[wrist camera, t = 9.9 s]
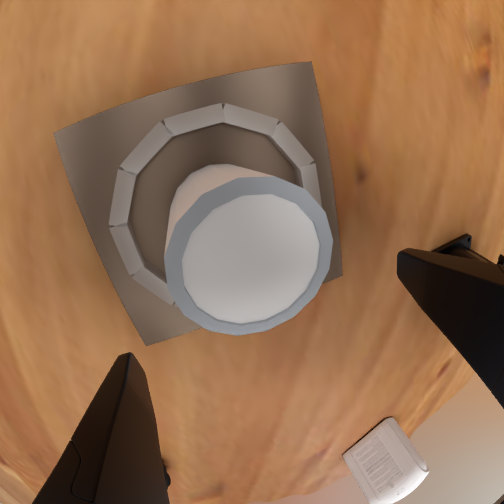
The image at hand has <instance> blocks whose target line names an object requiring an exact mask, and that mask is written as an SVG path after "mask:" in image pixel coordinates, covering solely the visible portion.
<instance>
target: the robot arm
mask: <svg viewBox="0 0 504 504" xmlns="http://www.w3.org/2000/svg"><path fill="white" fill-rule="evenodd" d="M471 239H472V237H471V235H469V234H466V235H464V236H462V237H460V238H458V239H456V240H454V241H452V242H451V243H449V244H447V245H445V246H443V247H441V248H439V249H437V250H435V251H433V252H429V251H424V250H418V249H412V248H406V249H404V250H402V251H400V252H399V253H398V255H397V275H398V278H399V279H400V281H401V282H402V283H403V285H404V286H405V287H406V289H407V290H408V291H409V293H410V294H411V295H412V297H413V298H414V299H415V301H416V302H417V303H418V305H419V306H420V307H421V309H422V310H423V311H424V312H425V313H426V315H427V316H428V317H429V318H430V319H431V320H432V321H433V322H434V323H435V325H436V326H437V327H438V328H439V329H440V330H441V331H442V333H443V334H444V335H445V336H446V337H447V338H448V340H449V341H450V342H451V343H452V344H453V345H454V347H455V348H456V349H457V350H458V351H459V352H460V354H461V355H462V356H463V357H464V358H465V360H466V361H467V362H468V363H469V365H470V366H471V367H472V368H473V370H474V371H475V372H476V373H477V374H478V376H479V377H480V378H481V380H482V381H483V382H484V383H485V384H486V386H487V387H488V388H489V390H490V391H491V393H492V394H493V395H494V396H495V398H496V399H497V400H498V402H499V403H500V404H501V406H502V407H503V409H504V256H503V255H501V254H500V256H499V258H498V263H497V265H496V264H494V263H493V262H491V261H489V260H488V259H486V258H485V257H483V256H481V255H480V254H478V253H476V252H474V251H473V250H471V249H470V247H471ZM71 440H72V441H71ZM71 440H70V441H69V443H68V445H67V447H66V449H65V450H64V452H63V454H62V456H61V458H60V459H59V461H58V463H57V465H56V466H55V468H54V469H53V471H52V473H51V474H50V476H49V477H48V479H47V481H46V482H45V484H44V485H43V487H42V488H41V490H40V492H39V493H38V495H37V496H36V498H35V500H34V501H33V503H32V504H170V502H169V498H168V493H167V487H166V482H165V476H164V471H163V465H162V459H161V452H160V446H159V439H158V432H157V424H156V418H155V413H154V409H153V405H152V401H151V397H150V392H149V388H148V383H147V378H146V375H145V372H144V370H143V368H142V367H141V365H140V364H139V362H138V361H137V359H136V358H135V356H134V355H133V354H132V353H131V352H128V353H125V354H122V355H119V356H118V357H117V359H116V361H115V362H114V364H113V366H112V367H111V369H110V371H109V372H108V374H107V376H106V378H105V379H104V381H103V383H102V384H101V386H100V388H99V389H98V391H97V393H96V395H95V396H94V398H93V400H92V402H91V403H90V405H89V407H88V409H87V410H86V412H85V414H84V416H83V418H82V419H81V421H80V423H79V425H78V427H77V428H76V430H75V432H74V434H73V436H72V438H71ZM494 504H504V494H503V495H502V496H501V497H500V498H499V499H498V500H497V501H496V502H495V503H494Z"/></svg>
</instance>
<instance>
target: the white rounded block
mask: <svg viewBox="0 0 504 504" xmlns="http://www.w3.org/2000/svg"><path fill="white" fill-rule="evenodd" d="M343 458H344V460H345V462H346V464H347V465H348V467H349V469H350V470H351V472H352V474H353V476H354V477H355V479H356V480H357V483H358V484H359V486H360V488H361V489H362V491H363V493H364V495H365V497H366V498H367V500H368V502H369V503H370V504H392V503H394V502H396V501H398V500H400V499H402V498H403V497H405V496H407V495H408V494H409V493H411V492H412V491H413V490H414V489H415V488H416V487H417V486H418V485H419V484H420V483H421V482H422V481H423V480H424V478H425V477H426V476H427V474H428V473H429V468H428V466H427V464H426V462H425V461H424V459H423V458H422V456H421V455H420V454H419V452H418V451H417V450H416V448H415V447H414V445H413V444H412V443H411V441H410V440H409V438H408V437H407V436H406V434H405V433H404V432H403V430H402V429H401V427H400V426H399V425H398V423H397V422H396V421H395V419H394V418H387V419H385V420H384V421H383V422H382V423H380V424H379V425H378V426H377V427H376V428H374V429H373V430H372V431H371V432H370V433H369V434H367V435H366V436H365V437H364V438H363V439H362V440H360V441H359V442H358V443H357V444H355V445H354V446H353V447H352V448H350V449H349V450H348V451H347V452H346V453H345V454H344V455H343Z"/></svg>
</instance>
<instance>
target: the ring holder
mask: <svg viewBox="0 0 504 504" xmlns="http://www.w3.org/2000/svg"><path fill="white" fill-rule="evenodd" d="M54 137H55V140H56V143H57V147H58V150H59V153H60V156H61V159H62V162H63V165H64V168H65V171H66V174H67V177H68V180H69V182H70V185H71V188H72V191H73V193H74V196H75V199H76V201H77V204H78V206H79V209H80V211H81V214H82V216H83V219H84V221H85V224H86V226H87V229H88V231H89V233H90V236H91V238H92V240H93V243H94V245H95V247H96V249H97V252H98V254H99V256H100V258H101V260H102V263H103V265H104V267H105V269H106V271H107V273H108V275H109V277H110V279H111V281H112V283H113V285H114V287H115V289H116V291H117V293H118V295H119V297H120V299H121V301H122V303H123V305H124V307H125V309H126V311H127V313H128V315H129V316H130V318H131V320H132V322H133V324H134V326H135V327H136V329H137V331H138V333H139V335H140V336H141V338H142V340H143V342H144V343H145V345H146V346H148V345H151V344H154V343H158V342H161V341H164V340H167V339H170V338H173V337H176V336H179V335H182V334H185V333H188V332H191V331H194V330H197V329H200V328H203V327H202V326H200V325H199V324H197V323H196V322H194V321H192V320H191V319H189V318H188V317H186V316H184V314H183V313H182V311H181V310H180V308H179V307H178V305H177V304H176V302H175V301H174V299H173V298H172V296H171V294H170V293H169V291H168V288H167V280H166V271H165V262H164V254H165V245H166V237H167V230H168V222H169V215H170V208H171V204H172V201H173V199H174V196H175V193H176V190H177V188H178V187H179V186H180V185H181V184H182V182H183V181H184V180H185V179H186V178H187V177H188V176H189V175H190V174H191V173H193V172H195V171H197V170H199V169H201V168H203V167H205V166H207V165H215V164H231V165H235V166H239V167H242V168H246V169H250V170H254V171H257V172H261V173H265V174H268V175H272V176H275V177H278V178H280V179H283V180H285V181H287V182H290V183H292V184H295V185H297V186H299V187H302V188H304V189H306V190H307V191H308V193H309V194H310V195H311V196H312V197H313V198H314V199H315V201H316V202H317V203H318V204H319V205H320V206H321V208H322V209H323V210H324V211H325V212H326V216H327V219H328V223H329V227H330V230H331V234H332V238H333V245H332V253H331V261H330V268H329V271H328V273H327V275H326V277H325V278H324V280H323V282H322V284H323V283H325V282H328V281H330V280H333V279H335V278H338V277H340V276H343V274H342V261H341V250H340V239H339V229H338V220H337V211H336V202H335V194H334V187H333V179H332V172H331V165H330V158H329V152H328V145H327V139H326V133H325V127H324V122H323V116H322V111H321V105H320V100H319V95H318V90H317V85H316V80H315V75H314V71H313V66H312V61H310V62H301V63H293V64H285V65H278V66H271V67H265V68H259V69H253V70H248V71H243V72H238V73H233V74H228V75H223V76H219V77H214V78H210V79H206V80H202V81H198V82H194V83H190V84H186V85H182V86H179V87H175V88H172V89H168V90H165V91H162V92H158V93H155V94H152V95H149V96H146V97H143V98H140V99H137V100H134V101H131V102H128V103H125V104H122V105H120V106H117V107H114V108H111V109H109V110H106V111H104V112H101V113H99V114H96V115H94V116H91V117H89V118H86V119H84V120H82V121H79V122H77V123H75V124H72V125H70V126H68V127H66V128H64V129H61V130H59V131H57V132H55V133H54Z"/></svg>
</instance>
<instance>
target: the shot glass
mask: <svg viewBox="0 0 504 504" xmlns="http://www.w3.org/2000/svg"><path fill="white" fill-rule="evenodd" d="M332 245H333V238H332V234H331V230H330V227H329V223H328V219H327V216H326V212H325V211H324V210H323V209H322V208H321V206H320V205H319V204H318V203H317V202H316V201H315V199H314V198H313V197H312V196H311V195H310V194H309V193H308V191H307V190H306V189H304V188H302V187H299V186H297V185H295V184H292V183H290V182H287V181H285V180H283V179H280V178H278V177H275V176H272V175H268V174H265V173H261V172H257V171H254V170H250V169H246V168H242V167H239V166H235V165H231V164H215V165H207V166H205V167H203V168H201V169H199V170H197V171H195V172H193V173H191V174H190V175H189V176H188V177H187V178H186V179H185V180H184V181H183V182H182V184H181V185H180V186H179V187H178V188H177V190H176V193H175V196H174V199H173V201H172V204H171V208H170V215H169V222H168V230H167V237H166V245H165V254H164V262H165V271H166V280H167V288H168V291H169V293H170V294H171V296H172V298H173V299H174V301H175V302H176V304H177V305H178V307H179V308H180V310H181V311H182V313H183V314H184V316H186V317H188V318H189V319H191V320H192V321H194V322H196V323H197V324H199V325H200V326H202V327H204V328H205V329H207V330H209V331H213V332H219V333H225V334H231V335H237V336H239V335H245V334H251V333H256V332H262V331H267V330H269V329H271V328H273V327H275V326H277V325H279V324H281V323H283V322H285V321H287V320H289V319H291V318H292V317H294V316H295V315H296V314H297V313H298V312H299V311H300V310H301V309H302V308H303V307H304V306H305V305H307V304H308V303H309V302H310V301H311V300H312V299H313V298H314V297H315V296H316V294H317V292H318V290H319V288H320V286H321V284H322V282H323V280H324V278H325V277H326V275H327V273H328V271H329V268H330V261H331V253H332Z"/></svg>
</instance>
